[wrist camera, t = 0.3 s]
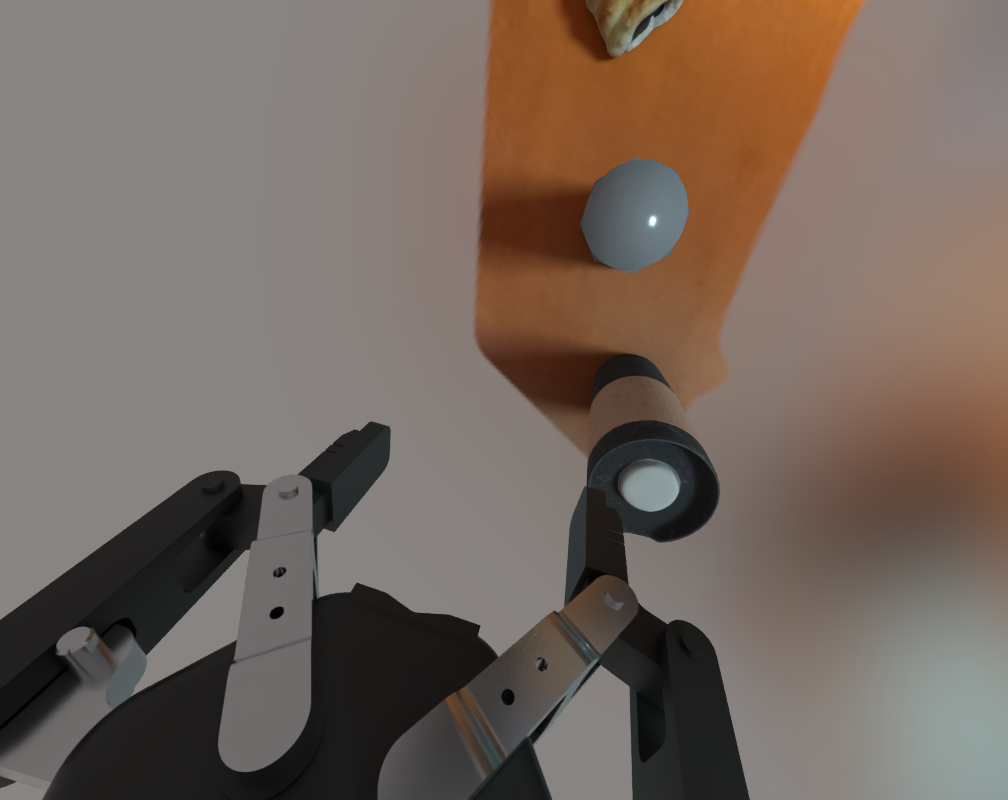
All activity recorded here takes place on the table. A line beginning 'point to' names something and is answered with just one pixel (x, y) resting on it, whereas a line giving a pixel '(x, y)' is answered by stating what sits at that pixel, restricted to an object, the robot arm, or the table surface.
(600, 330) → the table surface
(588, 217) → the canister
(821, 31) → the table surface
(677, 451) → the travel mug
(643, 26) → the pastry
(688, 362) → the table surface
